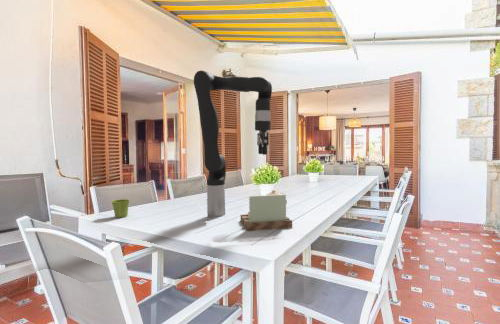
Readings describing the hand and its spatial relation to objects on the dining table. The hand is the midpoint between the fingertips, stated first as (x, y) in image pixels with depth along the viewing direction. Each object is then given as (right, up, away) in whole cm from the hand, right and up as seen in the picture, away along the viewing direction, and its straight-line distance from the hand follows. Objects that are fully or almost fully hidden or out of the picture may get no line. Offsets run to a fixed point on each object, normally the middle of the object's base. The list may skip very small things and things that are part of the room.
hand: (262, 154), depth 145 cm
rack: (+1, -33, -9) cm, 35 cm away
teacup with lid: (+9, -32, +26) cm, 42 cm away
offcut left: (-4, -32, -10) cm, 34 cm away
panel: (+2, -32, -15) cm, 35 cm away
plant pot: (-76, -34, +17) cm, 84 cm away
